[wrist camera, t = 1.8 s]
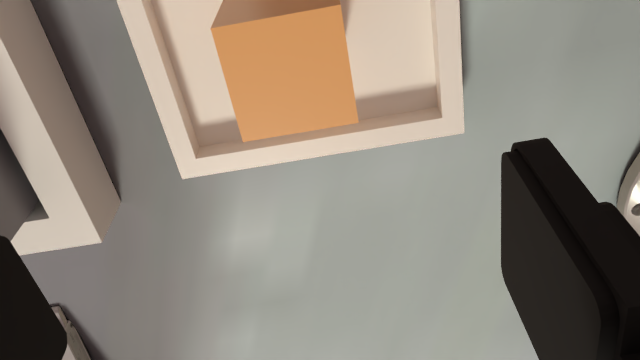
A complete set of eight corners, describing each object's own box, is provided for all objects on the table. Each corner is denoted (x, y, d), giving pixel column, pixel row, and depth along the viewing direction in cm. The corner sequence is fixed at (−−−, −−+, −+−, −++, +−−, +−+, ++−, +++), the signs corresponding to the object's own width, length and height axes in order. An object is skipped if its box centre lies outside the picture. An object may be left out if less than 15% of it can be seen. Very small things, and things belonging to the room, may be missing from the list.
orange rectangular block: (330, -49, 23) (340, 4, 17) (344, 43, 26) (358, 122, 19) (236, -31, 24) (210, 28, 17) (258, 58, 26) (243, 142, 19)
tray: (438, -217, 21) (450, -220, 19) (454, 114, 29) (464, 132, 27) (83, -143, 22) (65, -140, 20) (189, 158, 30) (182, 179, 28)
